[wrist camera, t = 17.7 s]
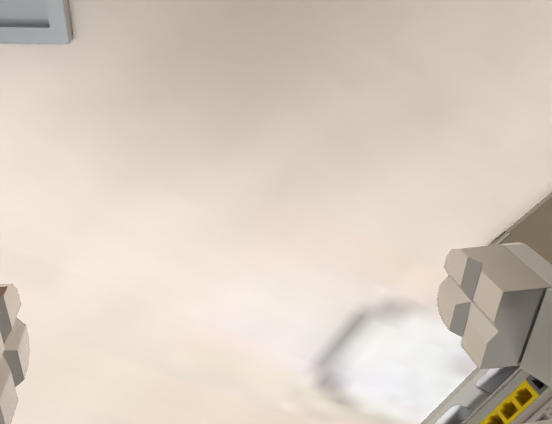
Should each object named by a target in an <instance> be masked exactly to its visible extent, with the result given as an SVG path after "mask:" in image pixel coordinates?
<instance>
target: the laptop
mask: <svg viewBox="0 0 552 424" xmlns="http://www.w3.org/2000/svg"><path fill="white" fill-rule="evenodd" d="M515 242H520V243H523V244H526V245H528V246H529V247H530V248H532V249H533V250H534V251H535V252H537V253H538V254H539V255H540V256H542V257H543V258H544V259H545V260H547V261H548V262H549V263H550V264H552V193H551V194H549V195H548V196H547V197H546V198H545V199H543V200H542V201H541V202H540V203H539V204H537V205H536V206H535V207H534V208H533V209H531V210H530V211H529V212H528V213H527V214H525V215H524V216H523V217H522V218H521V219H519V220H518V221H517V222H516V223H515V224H514V225H512V226H511V227H510V228H509V229H508V230H506V232H505V233H503V234H502V235H501V236H500V237H499V238H497V239H496V240H495V241H494V242H493V243H491V244H490V245H488V246H492V245H498V244H506V243H515Z"/></svg>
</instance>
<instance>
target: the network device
mask: <svg viewBox="0 0 552 424" xmlns="http://www.w3.org/2000/svg"><path fill="white" fill-rule="evenodd" d="M488 370H489V369H481V370H479V368H478V367H477V368H476V369H475V370H474V371H473V372H472V373H471V374H470V375H469V376H468V377H467V378H466V379H465V380H464V381H463V382H462V383H461V384H460V385H459V386H458V387H457V388H456V389H455V390H454V391H453V392H452V393H451V394H450V395H449V396H448V397H447V398H446V399H445V400H444V401H443V402H442V403H441V404H440V405H439V406H438V407H437V408H436V409H435V410H434V411H433V412H432V413H431V414H430V415H429V416H428V417H427V418H426V419H425V420H424V421H423V422H422V423H421V424H434V423H435V422H436V421H437V420H438V419H439V418H441V417H442V416H443V415H444V414H445V413H446V412H447V411H448V410H449V409H450V408H451V407H453V406H456V405H462V406H464V407H466V408H467V409H469V410H470V411H471V412H472V413H471V414H470V415H469V416H468V417H467V418H466V419H465V420H464V421H463V422H462V423H461V424H524V423H530V422H537V421H543V420H549V419H552V388H550V387H549V386H547V385H546V384H544V383H543V382H541V381H540V380H538V379H536V378H535V377H533V376H532V375H530V374H529V373H527V372H526V371H524V370H522V369H521V368H518V369H517V370H516V371H515V372H514V373H513V374H512V375H511V376H510V377H509V378H508V379H507V380H506V381H505V382H504V383H502V384H501V385H500V386H499V387H498V388H497V389H496V390H495V391H494V392H493V393H492V394H491V393H489V392H486V391H485V390H483V389H481V388H479V387H477V386H476V383H477V381H478V380H479V379H480V378H481V377H482V376H483V375H484V374H485V373H486V372H487V371H488Z"/></svg>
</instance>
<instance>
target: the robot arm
mask: <svg viewBox="0 0 552 424" xmlns="http://www.w3.org/2000/svg"><path fill="white" fill-rule="evenodd" d="M444 268H445V270H446V272H447V274H448V275H449V276H448V277H447V278H446V279H445V280H444V281H443V282H442V283H441V285H440V286H439V292H438V297H437V302H438V310H439V314H440V316H441V319H442V321H443V323H444V324H445V325H446V327H447V328H448V329H449V330H450V331H451V332H453V333H455V334H457V335H459V336H461V337H462V341H461V346H462V348H463V349H464V350H465V352H466V353H467V354H468V355H469V357H470V358H471V359H472V361H473V362H474V363H475V364H476V366H477V367H478V368H479V370H481V369H490V368H500V367H509V366H519V365H520V367H519V368H521V369H522V370H524V371H526V372H527V373H529V374H530V375H532V376H533V377H535V378H536V379H538V380H540V381H541V382H543V383H544V384H546V385H547V386H549V387H550V388H552V264H550V263H549V262H548V261H547V260H545V259H544V258H543V257H542V256H540V255H539V254H538V253H537V252H535V251H534V250H533V249H532V248H530V247H529V246H528V245H526V244H523V243H520V242H515V243H506V244H498V245H492V246H482V247H472V248H462V249H452V250H451V251H450V252H449V254H448V255H447V257H446V261H445V265H444ZM20 306H21V302H20V298H19V294H18V291H17V288H16V287H15V286H14V285H13V284H0V424H11V422H12V418H13V415H14V412H15V409H16V406H17V402H18V397H17V393H16V389H15V387H16V386H17V385H19V384H20V383H21V382H22V381H23V380H24V379H25V376H26V372H27V369H28V363H29V351H30V348H29V336H28V332H27V327H26V324H24V323H23V322H22V321H20V320H19V319H18V318H17V314H18V312H19V309H20ZM524 424H552V419H549V420H543V421H537V422H530V423H524Z"/></svg>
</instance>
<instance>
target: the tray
mask: <svg viewBox="0 0 552 424" xmlns="http://www.w3.org/2000/svg"><path fill="white" fill-rule="evenodd" d="M72 40H73V33H72V26H71V18H70V11H69V4H68V0H0V44H69V43H70V42H71V41H72Z"/></svg>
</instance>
